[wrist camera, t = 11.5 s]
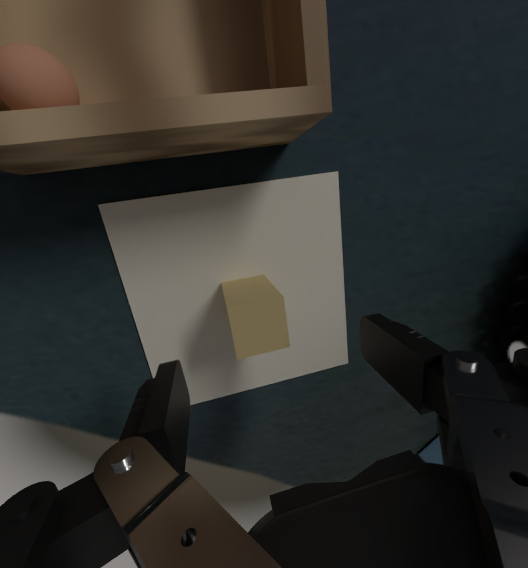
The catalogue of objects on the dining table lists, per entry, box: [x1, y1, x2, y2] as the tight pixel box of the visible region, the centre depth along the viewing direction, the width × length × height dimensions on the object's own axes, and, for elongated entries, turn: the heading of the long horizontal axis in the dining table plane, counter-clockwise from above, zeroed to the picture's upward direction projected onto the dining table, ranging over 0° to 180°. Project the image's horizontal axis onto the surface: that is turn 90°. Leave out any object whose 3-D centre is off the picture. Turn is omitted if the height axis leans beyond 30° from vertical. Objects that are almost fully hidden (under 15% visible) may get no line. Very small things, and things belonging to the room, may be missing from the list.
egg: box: [0, 42, 80, 110], centre depth 12 cm, size 3×3×3 cm
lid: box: [98, 171, 348, 405], centre depth 17 cm, size 15×15×6 cm
